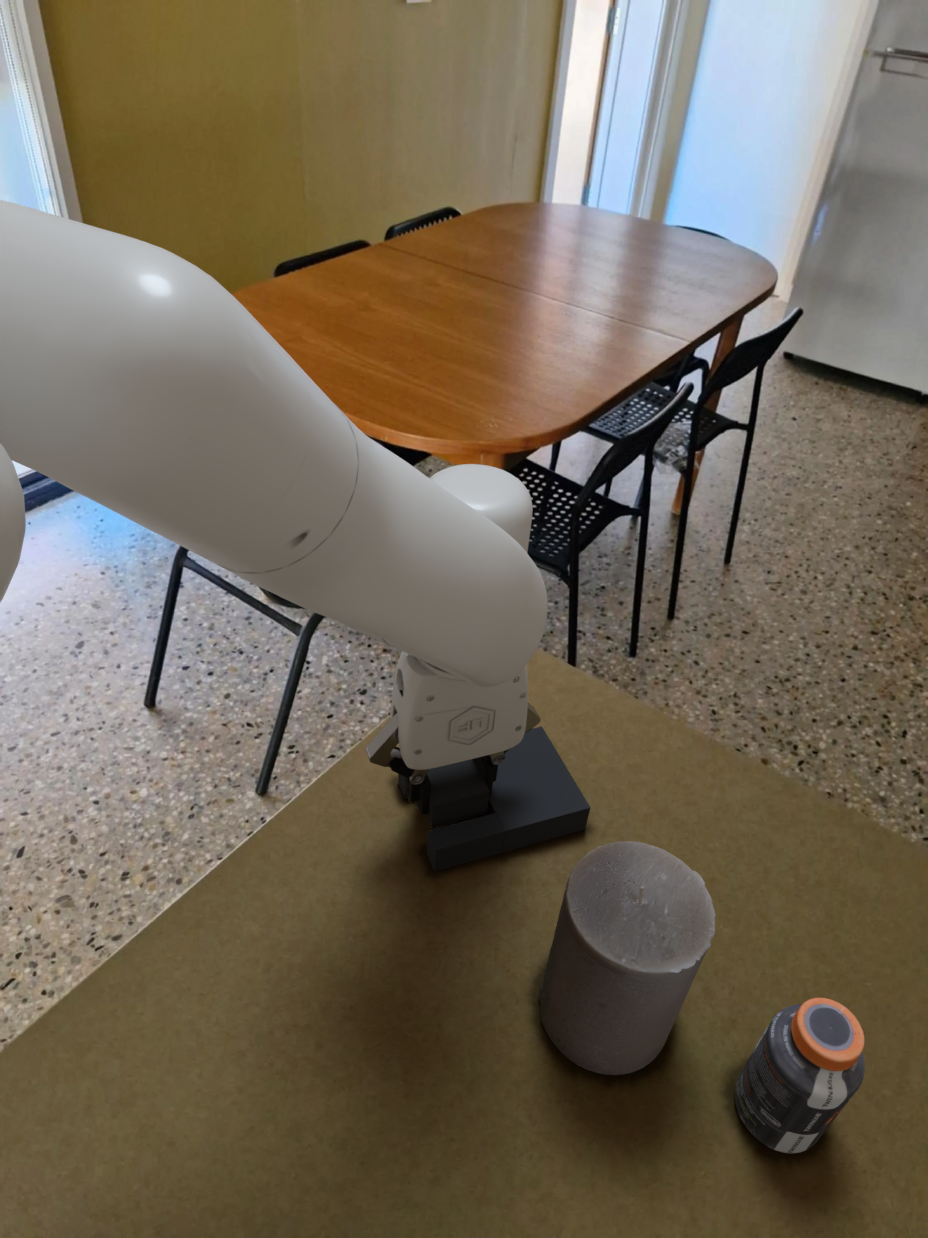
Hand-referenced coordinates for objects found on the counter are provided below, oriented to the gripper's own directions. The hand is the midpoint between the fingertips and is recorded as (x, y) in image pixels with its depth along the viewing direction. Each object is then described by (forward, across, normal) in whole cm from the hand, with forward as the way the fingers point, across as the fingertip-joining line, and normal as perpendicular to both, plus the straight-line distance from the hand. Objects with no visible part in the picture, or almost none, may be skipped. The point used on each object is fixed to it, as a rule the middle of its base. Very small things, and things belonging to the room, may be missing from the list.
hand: (450, 792), depth 76 cm
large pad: (+3, +4, 0) cm, 5 cm away
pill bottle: (+3, +13, -30) cm, 33 cm away
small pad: (+1, 0, 0) cm, 1 cm away
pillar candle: (+3, +5, -20) cm, 21 cm away
